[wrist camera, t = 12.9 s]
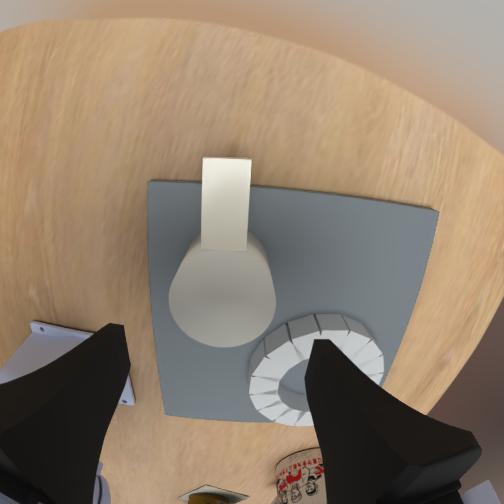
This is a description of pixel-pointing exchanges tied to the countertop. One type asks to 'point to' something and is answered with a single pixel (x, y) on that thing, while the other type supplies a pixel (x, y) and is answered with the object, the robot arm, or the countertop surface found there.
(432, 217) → the stand
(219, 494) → the condiment
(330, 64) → the countertop surface
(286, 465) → the teacup with lid
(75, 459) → the robot arm
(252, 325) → the cream post on cylinder
